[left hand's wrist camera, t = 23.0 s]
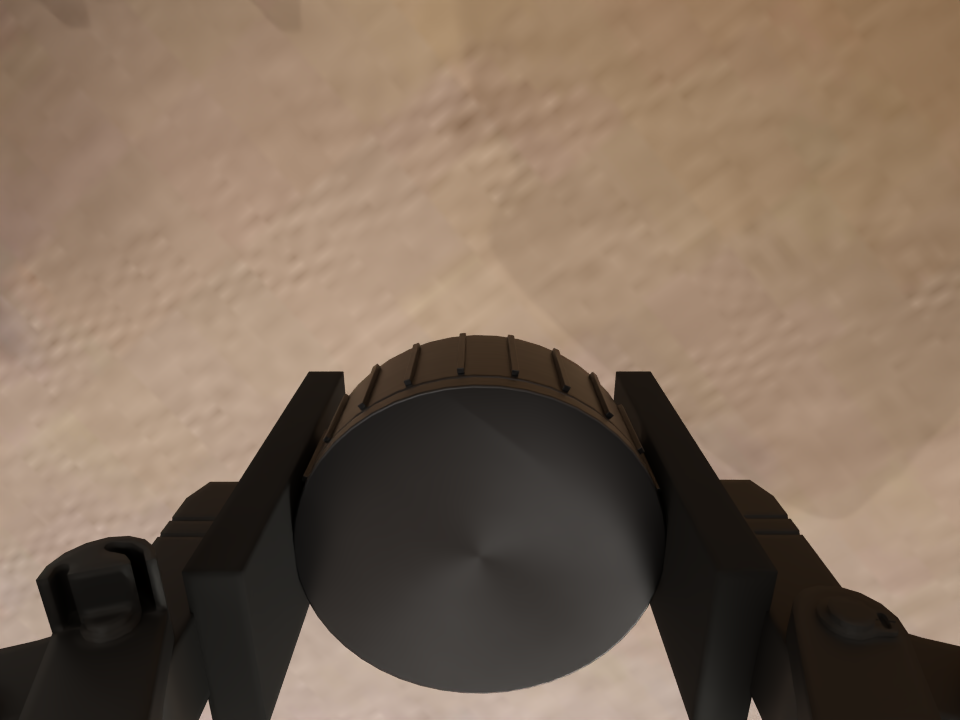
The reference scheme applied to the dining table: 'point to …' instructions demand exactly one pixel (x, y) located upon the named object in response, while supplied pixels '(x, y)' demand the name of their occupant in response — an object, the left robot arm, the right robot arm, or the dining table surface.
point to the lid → (479, 518)
